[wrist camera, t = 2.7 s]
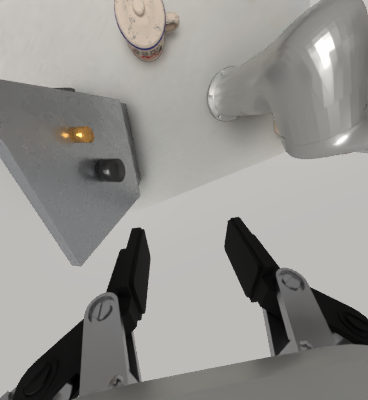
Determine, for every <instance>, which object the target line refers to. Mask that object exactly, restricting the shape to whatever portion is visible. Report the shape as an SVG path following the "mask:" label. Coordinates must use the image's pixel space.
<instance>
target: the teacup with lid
mask: <svg viewBox="0 0 368 400" xmlns="http://www.w3.org/2000/svg"><path fill="white" fill-rule="evenodd" d="M114 10H115V17H116V21H117V24H118V27H119V29H120V31H121V33H122V35H123V36H124V38H125V39H126V40H127V42H128V44H129V46H130V48H131V50H132V52H133V53H134V54H135V55H136V56H137V57H138V58H139V59H141V60H143V61H148V62H149V61H153V60H155V59H157V58H158V57H159V56H160V54H161V52H162V50H163V46H164V33H170V32H172V31H174V30H176V29H177V28H178V26H179V16H178V15H177V14H176V13H172V12H168V13H165V9H164V5H163V1H162V0H115V1H114ZM169 22H172V23H170V24H166V23H169ZM165 24H166V25H165Z"/></svg>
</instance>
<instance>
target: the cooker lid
mask: <svg viewBox="0 0 368 400" xmlns="http://www.w3.org/2000/svg"><path fill="white" fill-rule="evenodd" d="M0 158H1V159H2V161H3V162H4V164H5V165H6V167H7V168H8V170H9V171H10V173H11V174H12V176H13V177H14V179H15V180H16V182H17V183H18V185H19V186H20V188H21V189H22V191H23V192H24V194H25V195H26V197H27V198H28V200H29V201H30V203H31V204H32V206H33V207H34V209H35V210H36V212H37V213H38V215H39V216H40V218H41V219H42V221H43V222H44V224H45V225H46V227H47V228H48V230H49V231H50V233H51V234H52V236H53V237H54V239H55V240H56V242H57V243H58V245H59V246H60V248H61V249H62V251H63V252H64V254H65V255H66V257H67V258H68V260H69V261H70V263H71V264H72V265H74V266H82V265H83V263H84V262H85V261H86V260H87V259H88V257H89V256H90V255H91V254H92V253H93V251H94V250H95V249H96V248H97V247H98V245H99V244H100V243H101V242H102V241H103V239H104V238H105V237H106V236H107V235H108V233H109V232H110V231H111V230H112V229H113V228H114V226H115V225H116V224H117V223H118V222H119V220H120V219H121V218H122V217H123V216H124V214H125V213H126V212H127V211H128V210H129V208H130V207H131V206H132V205H133V204H134V203H135V201H136V200H137V199H138V198H139V197H140V192H139V187H138V183H137V178H136V173H135V169H134V164H133V159H132V155H131V150H130V146H129V141H128V136H127V132H126V127H125V122H124V118H123V113H122V108H121V104H120V100H119V99H113V98H107V97H101V96H95V95H89V94H83V93H78V92H72V91H66V90H60V89H54V88H48V87H42V86H36V85H30V84H24V83H18V82H12V81H7V80H1V79H0Z"/></svg>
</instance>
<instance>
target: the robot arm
mask: <svg viewBox="0 0 368 400" xmlns="http://www.w3.org/2000/svg"><path fill="white" fill-rule="evenodd" d="M221 74H222V76H221ZM209 96H211V98H210V97H209ZM207 102H208V107H209V110H210V112H211V113H212V115H213V116H214V117H215V118H216V119H218V120H220V121H232V120H235V119H237V118H238V117H239V116H241V115H261V114H265V113H267V112H269V111H271V110H272V113H273V117H274V119H275V121H276V124H277V127H278V130H279V134H280V137H281V140H282V143H283V146H284V148H285V150H286V152H287V153H288V154H289V155H290V156H292V157H295V158H300V159H314V158H322V157H329V156H334V155H340V154H345V153H350V152H356V151H361V150H366V149H368V15H367V10H366V7H365V5H364V3H363V1H362V0H321V1H319V2H318V3H317V4H315V5H314V6H312V7H311V8H309V9H308V10H307V11H305V12H304V13H303V14H302V15H301V16H299V17H298V18H297V19H296V20H295V21H294V22H293V23H292V24H291V25H290V26H289V27H288V28H287V29H286V30H285V31H284V32H283V33H282V34H281V35H280V36H279V37H278V38H277V39H276V40H275V41H274V42H273V43H272V44H270V45H269V46H268V47H267V48H266V49H264V50H263V51H262V52H260V53H259V54H257V55H256V56H255V57H253V58H252V59H250V60H249V61H247V62H245V63H244V64H242V65H241V66H239V67H235V66H231V67H227V68H224V69H223V70H221V71H220V72H219V73H218V74H217V75H216V76H215V77H214V78H213V80H212V82H211V84H210V86H209V89H208V94H207ZM218 115H219V117H218ZM224 247H225V251H226V253H227V256H228V258H229V260H230V262H231V264H232V266H233V269H234V271H235V273H236V275H237V277H238V280H239V282H240V284H241V286H242V288H243V290H244V293H245V295H246V296H247V297H249V298H250V300H251V302H258V303H259V305H260V307H262V309H263V314H264V319H265V325H266V330H267V336H268V342H269V347H270V352H271V357H268V358H262V359H257V360H252V361H247V362H242V363H236V364H231V365H226V366H220V367H216V368H210V369H205V370H200V371H195V372H190V373H185V374H180V375H174V376H170V377H164V378H160V379H154V380H150V381H144V382H142V381H141V375H140V369H139V363H138V358H137V352H136V347H135V341H134V335H133V330H134V329H135V328H136V327H137V321H138V320H141V318H142V314H144V313H145V310H146V299H147V289H148V278H149V268H150V253H149V248H148V245H147V240H146V235H145V231H144V229H141V228H132V231H131V234H130V237H129V241H128V244H127V248H126V249H121V250H120V252H119V255H118V258H117V261H116V264H115V267H114V270H113V273H112V277H111V279H110V282H109V285H108V289H107V292H106V293H103V294H101V295H99V296H97V297H96V298H95V299H94V300H93V301H92V302H91V303H90V304H89V306H88V307H87V309H86V311H85V315H84V319H83V320H82V321H81V322H80V323H78V324H77V325H76V326H75V327H74V328H73V329H72V330H71V331H70V332H68V333H67V334H66V335H65V336H64V337H63V338H62V339H60V340H59V341H58V342H57V343H56V344H55V345H54V346H53V347H52V348H50V349H49V350H48V351H47V352H46V353H45V354H44V355H42V356H41V357H40V358H39V359H38V360H37V361H36V362H35V363H34V364H33V365H32V366H31V367H30V368H29V369H28V370H27V371H26V373H25V374H24V375H23V377H22V378H21V380H20V382H19V383H18V385H17V387H16V388H15V389H14V390H12V391H11V392H6V393H5V394H4V395H3V396H2V397H1V398H0V400H368V319H367V318H366V317H365V316H364V315H362V314H361V313H360V312H358V311H357V310H355V309H353V308H352V307H350V306H348V305H346V304H343V303H341V302H339V301H337V300H335V299H333V298H331V297H329V296H327V295H325V294H323V293H321V292H319V291H317V290H315V289H313V288H311V287H309V285H308V283H307V281H306V280H305V279H304V278H303V277H302V275H300V274H299V273H297V272H296V271H294V270H292V269H288V268H279V266H278V265H277V264H276V262H275V261H274V260H273V258H272V257H271V256H270V255H269V253H268V252H267V251H266V249H265V248H264V247H263V245H262V244H261V243H260V241H259V240H258V239H257V238H256V236H255V235H253V234H252V233H251V232H250V231H249V229H248V228H247V227H246V225H245V224H244V223H243V221H242V220H241V219H240V218H239V217H235V218H231V219H230V220H229V221H228V225H227V232H226V239H225V246H224ZM78 396H79V397H78Z"/></svg>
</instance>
